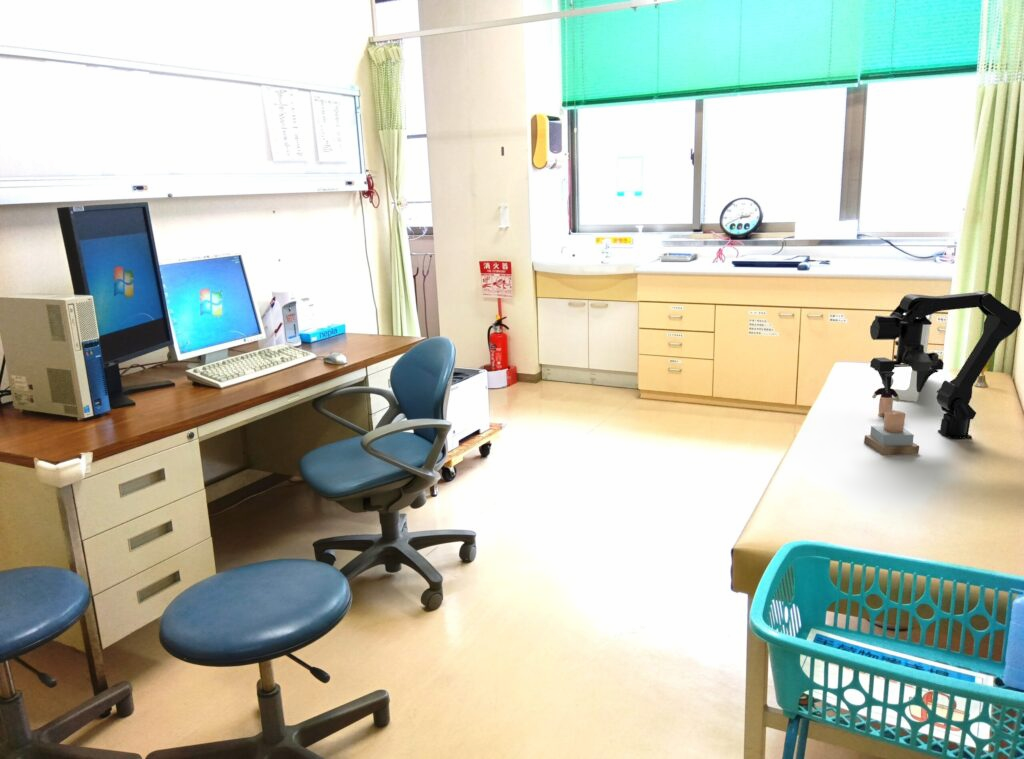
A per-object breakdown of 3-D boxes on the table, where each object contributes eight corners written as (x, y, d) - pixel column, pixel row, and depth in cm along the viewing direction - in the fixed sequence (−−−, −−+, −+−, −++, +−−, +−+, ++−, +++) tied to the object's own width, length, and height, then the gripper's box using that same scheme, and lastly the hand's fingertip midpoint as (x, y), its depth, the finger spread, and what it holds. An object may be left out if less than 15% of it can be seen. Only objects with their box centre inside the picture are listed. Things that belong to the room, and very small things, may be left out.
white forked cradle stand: (916, 401, 253) (927, 319, 245) (890, 398, 257) (900, 317, 249) (923, 377, 282) (933, 303, 274) (899, 374, 286) (908, 301, 278)
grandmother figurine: (896, 414, 240) (901, 376, 236) (897, 418, 236) (902, 379, 233) (869, 412, 242) (874, 374, 239) (870, 416, 239) (875, 377, 235)
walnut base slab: (897, 443, 216) (898, 433, 215) (917, 456, 207) (919, 446, 206) (863, 445, 216) (864, 435, 215) (882, 457, 206) (883, 447, 205)
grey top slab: (898, 435, 214) (899, 425, 213) (912, 445, 206) (913, 435, 206) (870, 435, 214) (871, 425, 214) (882, 445, 207) (884, 435, 206)
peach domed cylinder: (896, 426, 212) (898, 409, 211) (906, 432, 208) (909, 415, 206) (879, 427, 212) (881, 410, 211) (889, 433, 207) (891, 416, 206)
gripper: (894, 346, 205) (887, 401, 209) (959, 344, 207) (951, 399, 211) (872, 338, 216) (866, 390, 220) (934, 336, 217) (927, 388, 222)
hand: (903, 392), depth 218 cm, fingers open, 9 cm apart
